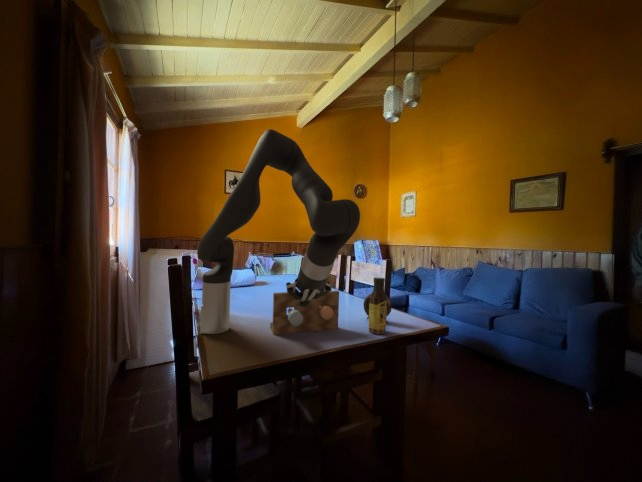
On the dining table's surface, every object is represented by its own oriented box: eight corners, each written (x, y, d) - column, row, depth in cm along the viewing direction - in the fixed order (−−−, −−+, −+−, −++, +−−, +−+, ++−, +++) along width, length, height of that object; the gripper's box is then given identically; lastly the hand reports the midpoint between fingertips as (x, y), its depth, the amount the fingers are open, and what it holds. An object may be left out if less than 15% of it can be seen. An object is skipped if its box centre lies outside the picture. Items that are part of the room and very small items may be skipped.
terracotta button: (313, 312, 103) (313, 300, 103) (323, 311, 104) (324, 300, 104) (321, 320, 93) (321, 307, 93) (333, 319, 95) (333, 306, 94)
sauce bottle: (382, 336, 94) (384, 279, 94) (365, 332, 97) (367, 278, 97) (388, 331, 100) (390, 277, 99) (372, 327, 103) (374, 276, 103)
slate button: (283, 317, 95) (284, 304, 95) (295, 316, 96) (296, 304, 96) (289, 326, 86) (289, 312, 86) (302, 325, 87) (303, 311, 87)
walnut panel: (273, 334, 93) (274, 293, 92) (270, 326, 100) (271, 289, 100) (337, 329, 100) (339, 291, 100) (330, 322, 108) (331, 287, 107)
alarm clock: (391, 322, 110) (392, 283, 110) (387, 326, 106) (388, 284, 105) (366, 317, 116) (367, 280, 116) (361, 320, 111) (362, 281, 111)
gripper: (337, 255, 71) (321, 292, 83) (288, 255, 67) (279, 293, 79) (345, 279, 66) (326, 314, 78) (292, 280, 62) (281, 317, 74)
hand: (302, 304), depth 79 cm, fingers closed
